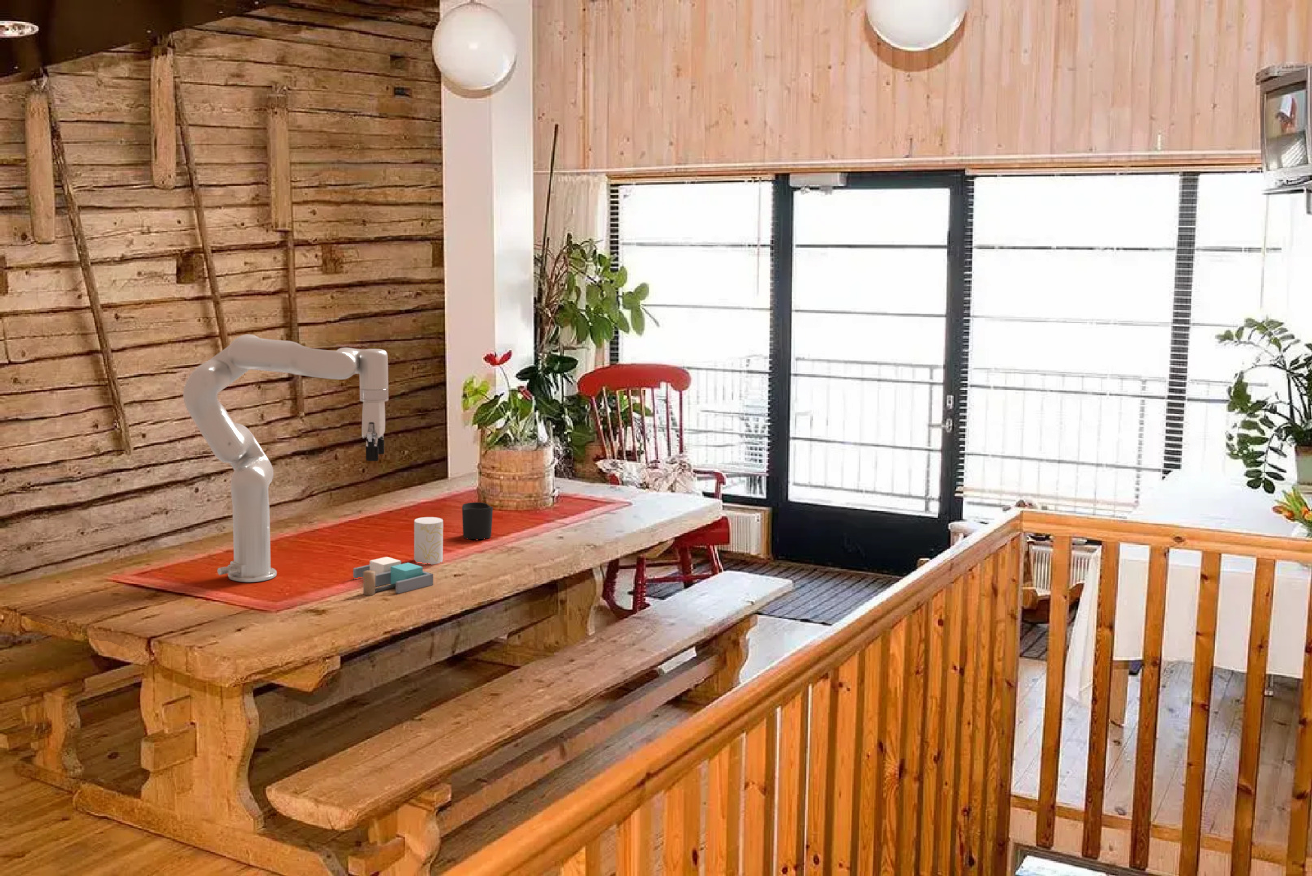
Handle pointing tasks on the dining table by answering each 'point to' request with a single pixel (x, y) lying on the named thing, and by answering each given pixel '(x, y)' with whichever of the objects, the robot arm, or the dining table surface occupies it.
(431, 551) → the cup
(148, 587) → the dining table surface
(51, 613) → the dining table surface
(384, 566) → the off-white block
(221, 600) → the dining table surface
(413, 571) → the teal block with handle
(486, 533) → the pen holder
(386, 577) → the lane rack
